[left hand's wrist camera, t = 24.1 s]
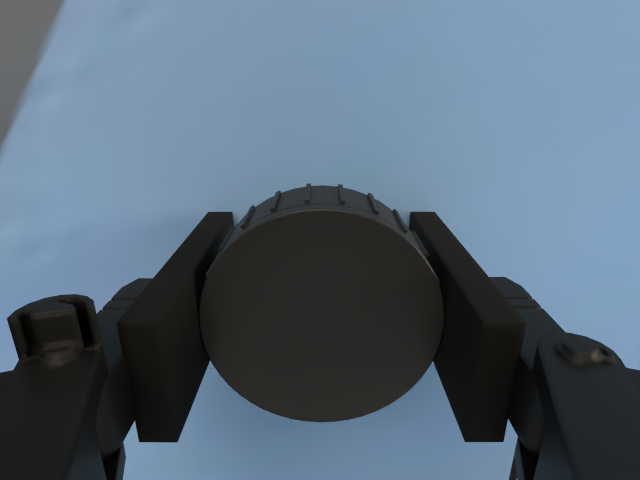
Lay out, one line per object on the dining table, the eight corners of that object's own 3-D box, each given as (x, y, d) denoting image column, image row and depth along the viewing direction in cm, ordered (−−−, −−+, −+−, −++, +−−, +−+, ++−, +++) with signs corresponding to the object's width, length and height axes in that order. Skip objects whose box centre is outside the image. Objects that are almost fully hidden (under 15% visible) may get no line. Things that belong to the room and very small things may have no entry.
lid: (442, 350, 13) (464, 400, 11) (252, 389, 13) (240, 443, 11) (407, 157, 11) (426, 176, 9) (185, 212, 11) (157, 241, 9)
